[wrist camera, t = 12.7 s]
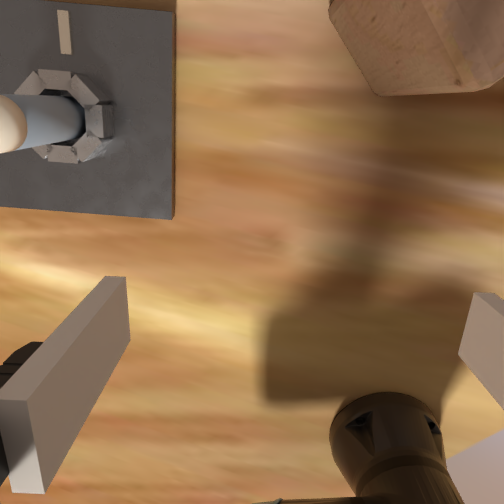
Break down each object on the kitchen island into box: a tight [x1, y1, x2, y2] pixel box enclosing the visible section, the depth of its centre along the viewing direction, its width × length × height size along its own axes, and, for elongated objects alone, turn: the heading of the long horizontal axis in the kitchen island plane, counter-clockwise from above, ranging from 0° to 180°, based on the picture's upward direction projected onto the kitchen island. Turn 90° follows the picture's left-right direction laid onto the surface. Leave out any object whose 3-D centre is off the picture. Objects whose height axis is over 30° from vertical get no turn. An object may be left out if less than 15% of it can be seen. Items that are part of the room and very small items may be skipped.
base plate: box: [0, 0, 175, 220], centre depth 38 cm, size 20×20×4 cm
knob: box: [0, 94, 86, 153], centre depth 32 cm, size 4×4×15 cm
